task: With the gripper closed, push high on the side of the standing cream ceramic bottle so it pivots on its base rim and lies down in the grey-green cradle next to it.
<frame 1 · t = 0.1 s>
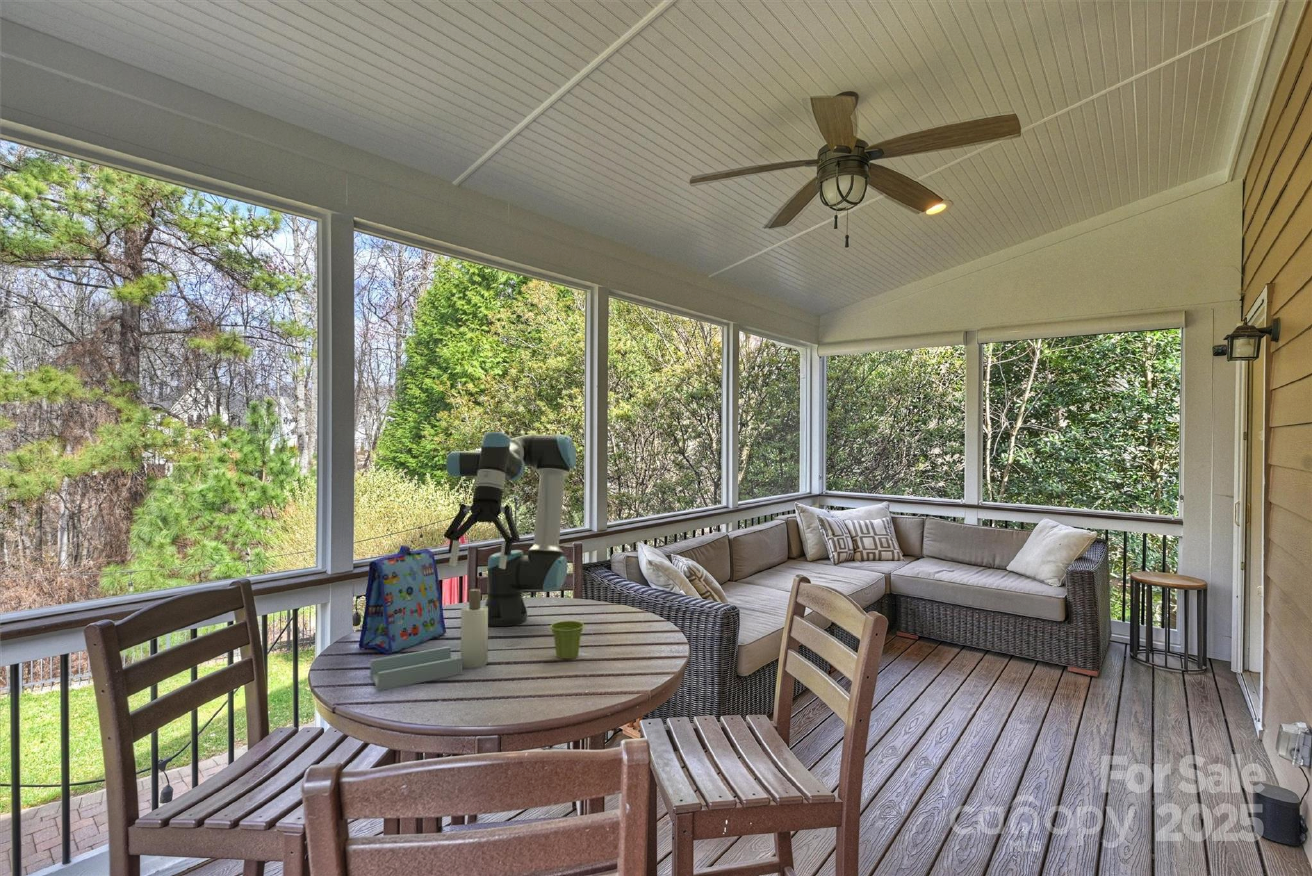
hand: (477, 567, 158), 28 cm above the table, tool tilted 20°, fingers open, 13 cm apart
lunch bag: (403, 642, 184), on the table
grey-green cradle: (416, 675, 157), on the table
plant pot: (567, 656, 172), on the table
cream bottle: (474, 663, 165), on the table
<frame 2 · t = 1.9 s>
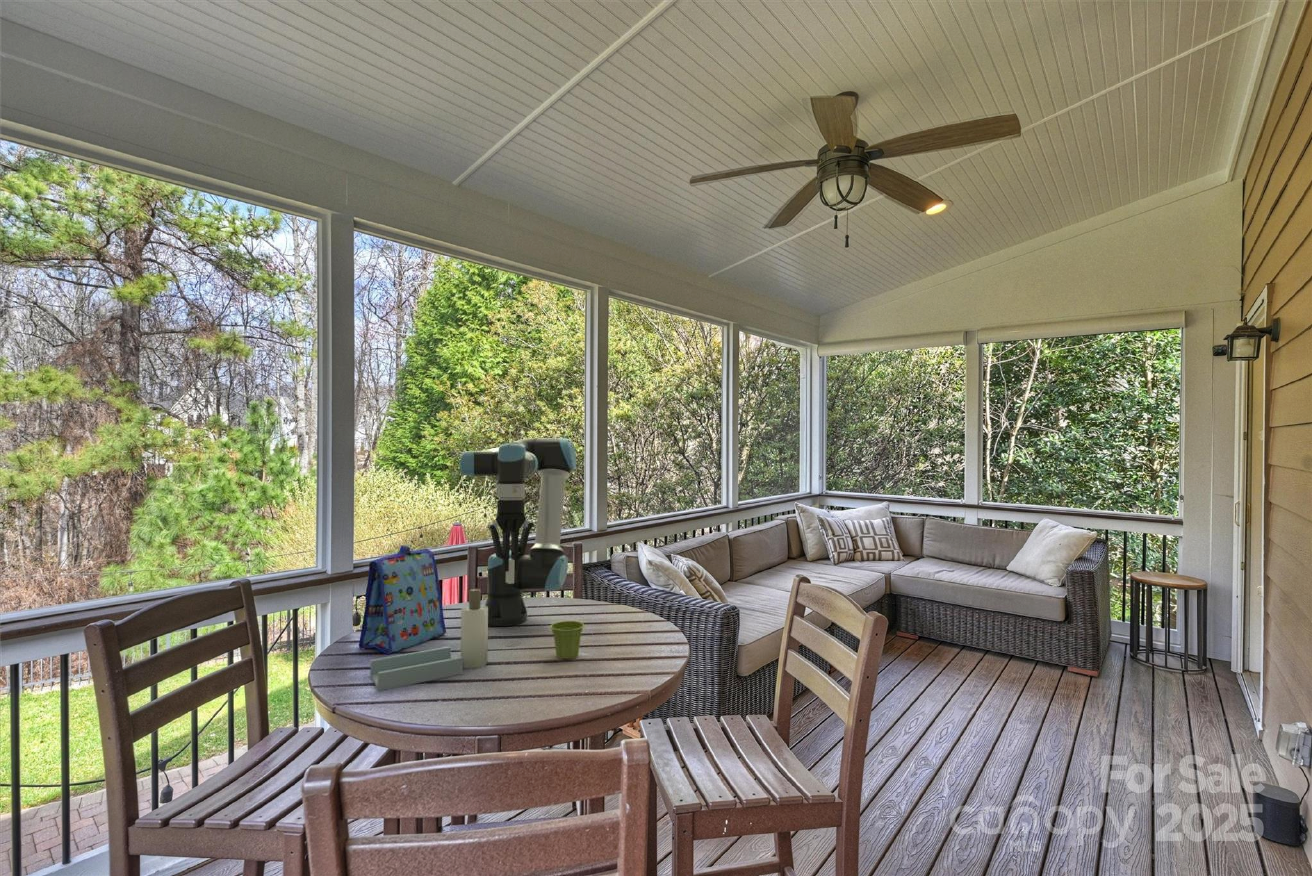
hand: (509, 582, 171), 21 cm above the table, tool pointing down, fingers closed
nothing on the table moved.
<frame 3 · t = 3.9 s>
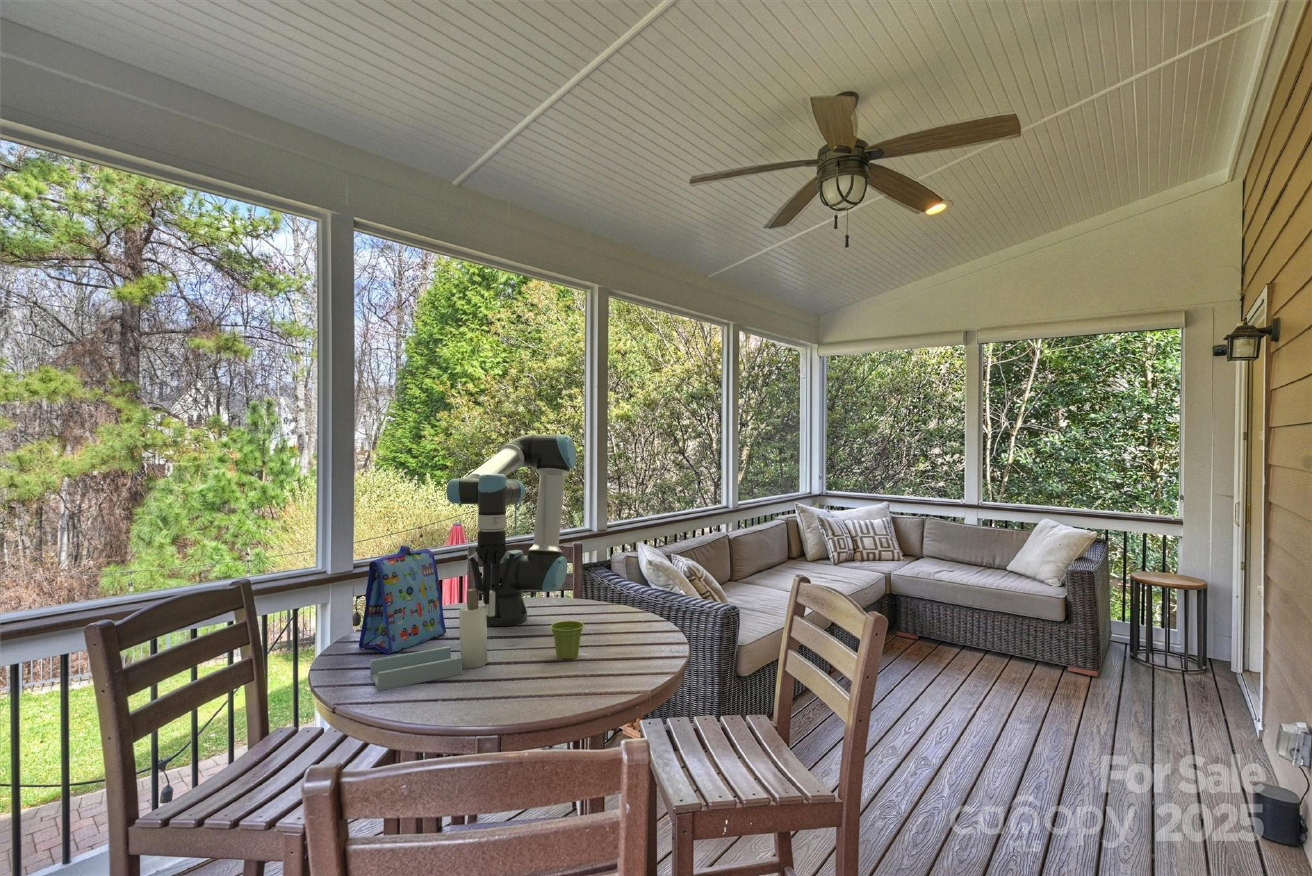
hand: (490, 615, 168), 13 cm above the table, tool pointing down, fingers closed
cream bottle: (474, 663, 165), on the table, touching gripper
everything else where it was.
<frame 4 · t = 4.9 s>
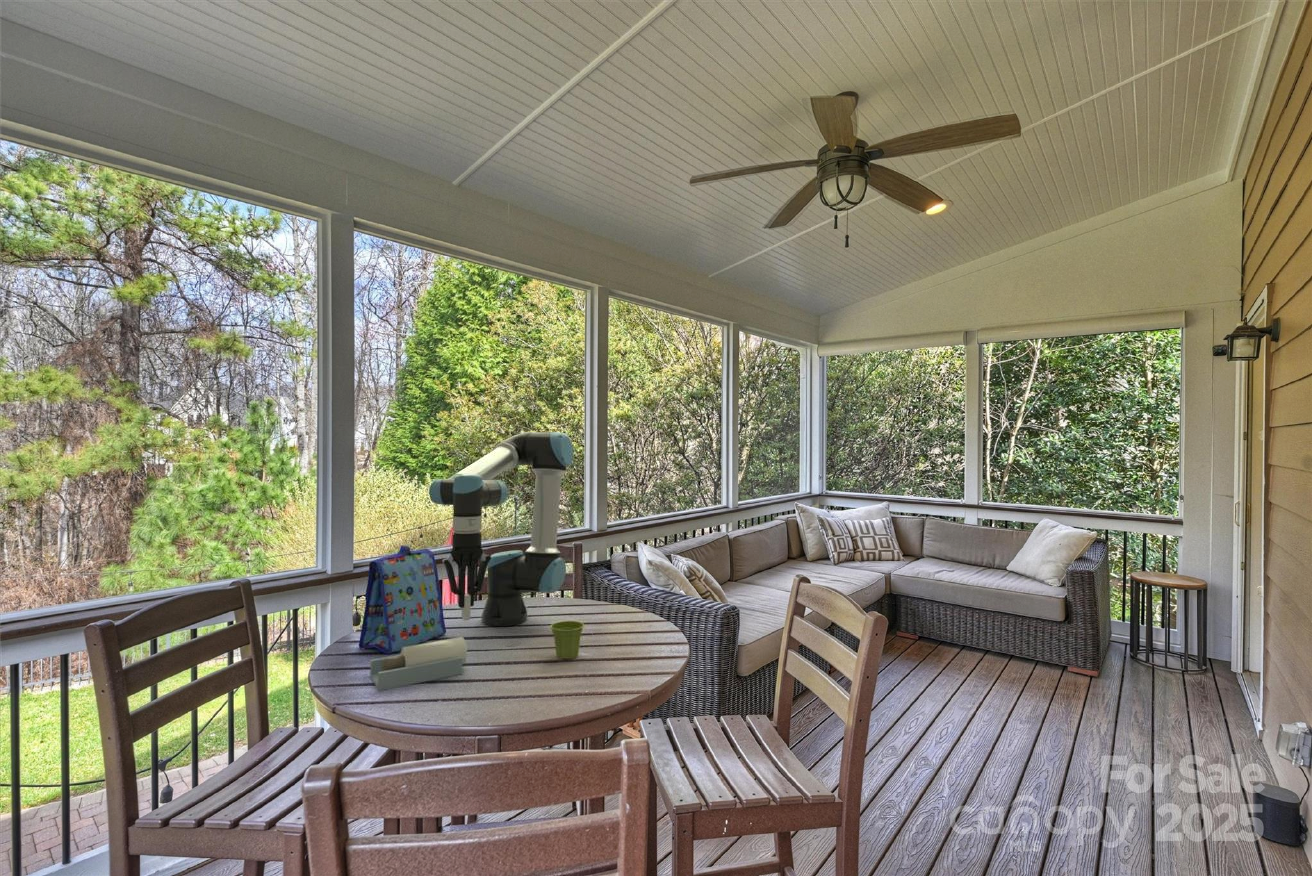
hand: (465, 618, 164), 13 cm above the table, tool pointing down, fingers closed
cream bottle: (462, 650, 164), point 4 cm above the table, tilted 90°, touching grey-green cradle
everything else where it was.
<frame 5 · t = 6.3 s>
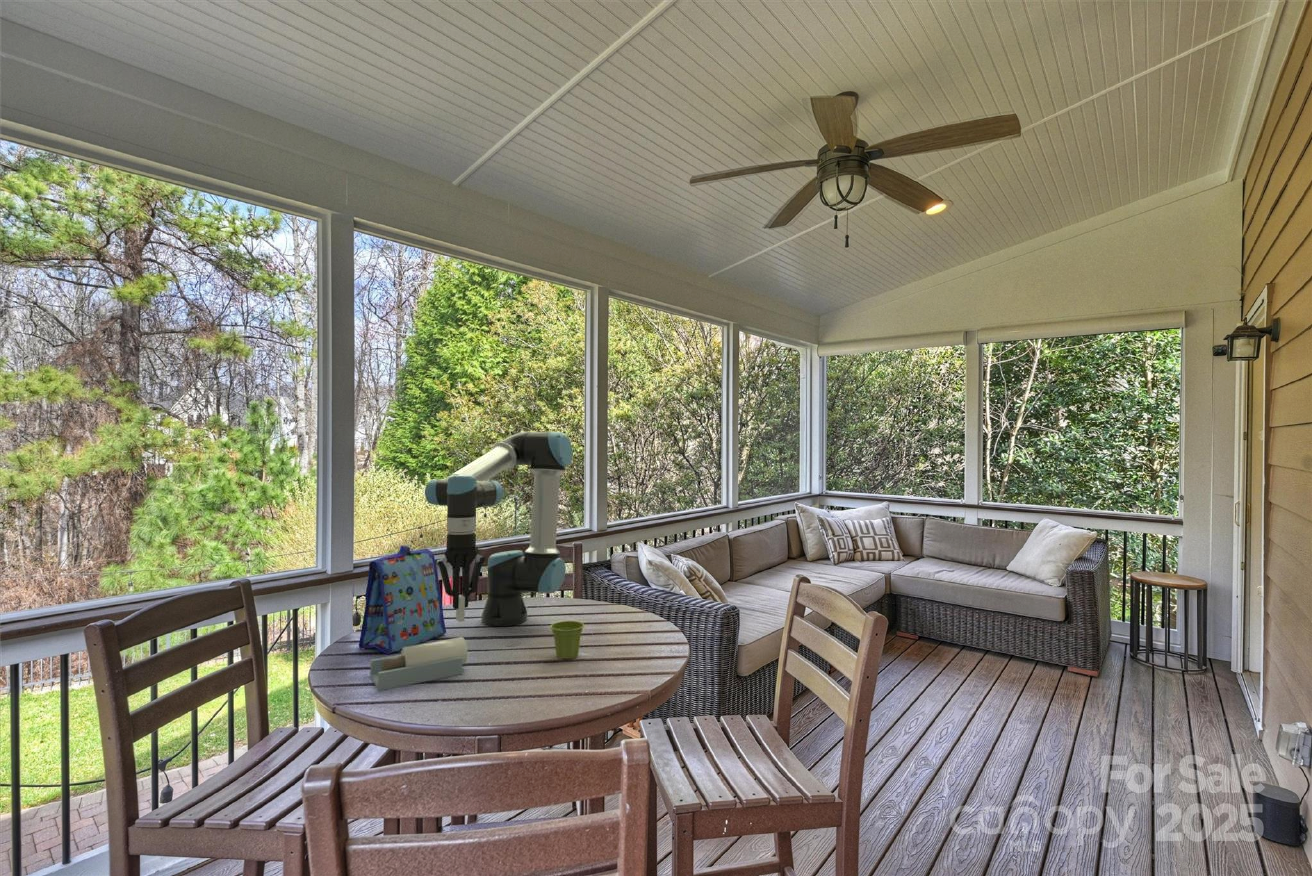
hand: (460, 620, 164), 12 cm above the table, tool pointing down, fingers closed
nothing on the table moved.
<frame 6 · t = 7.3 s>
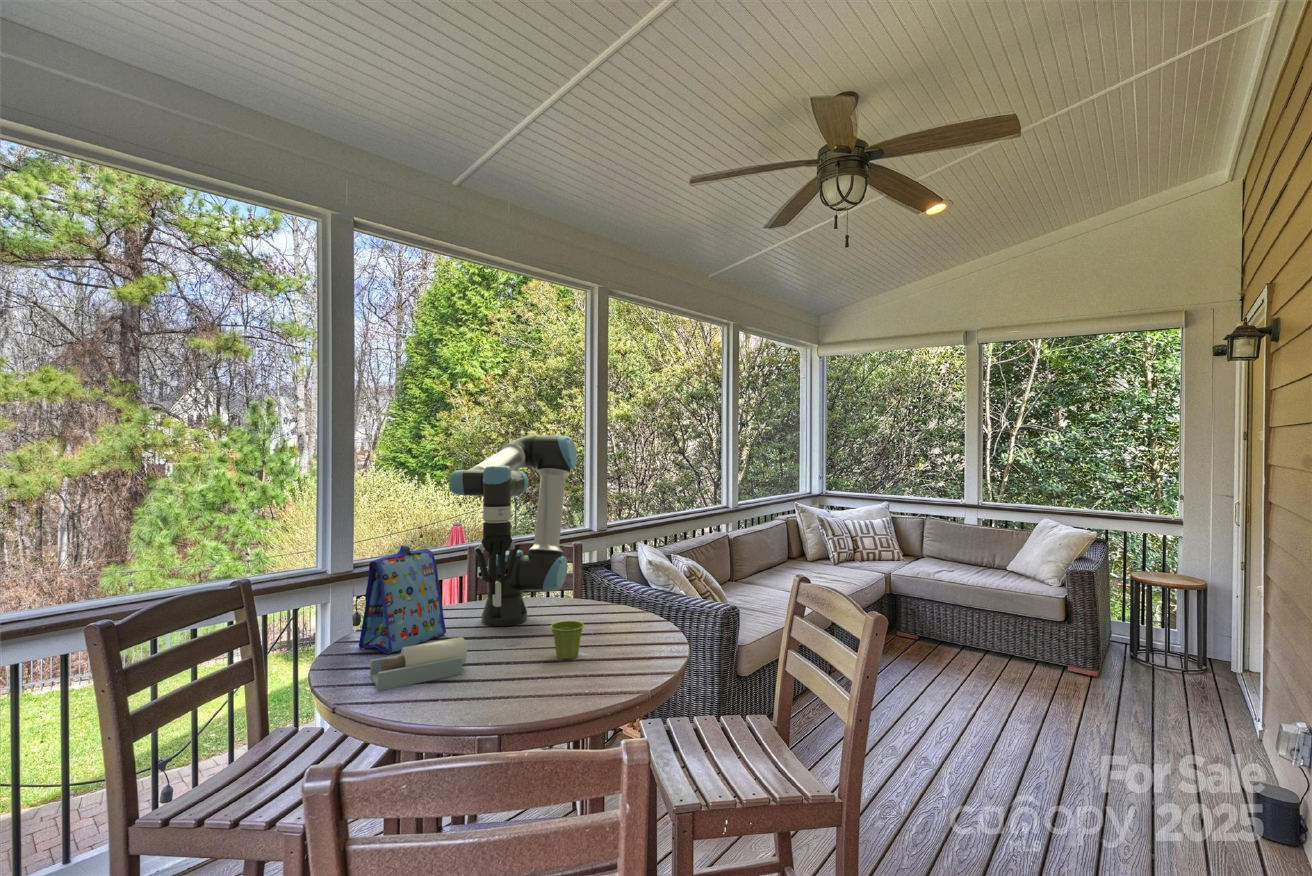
hand: (496, 605, 170), 15 cm above the table, tool pointing down, fingers closed
nothing on the table moved.
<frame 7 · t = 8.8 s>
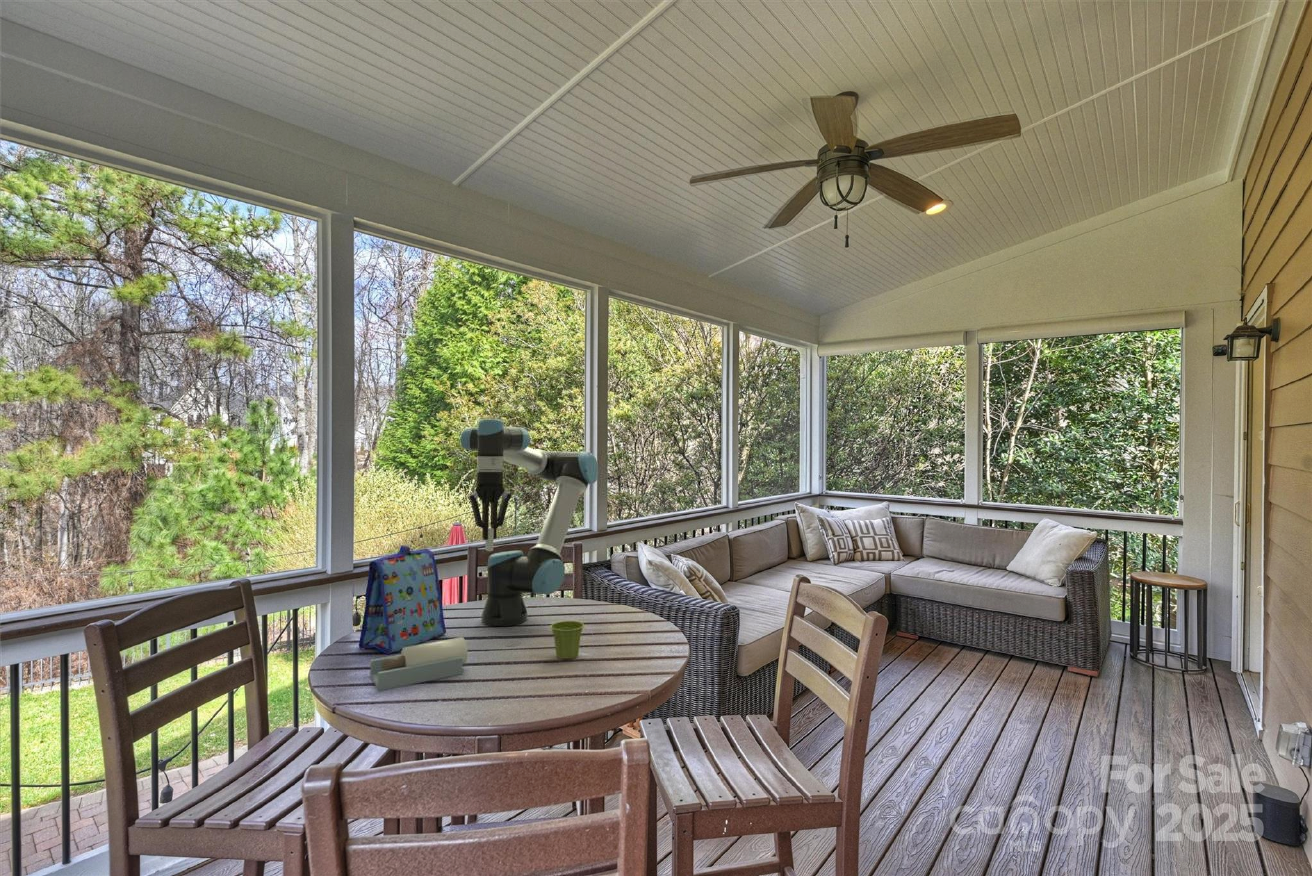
hand: (489, 550, 180), 28 cm above the table, tool pointing down, fingers closed
nothing on the table moved.
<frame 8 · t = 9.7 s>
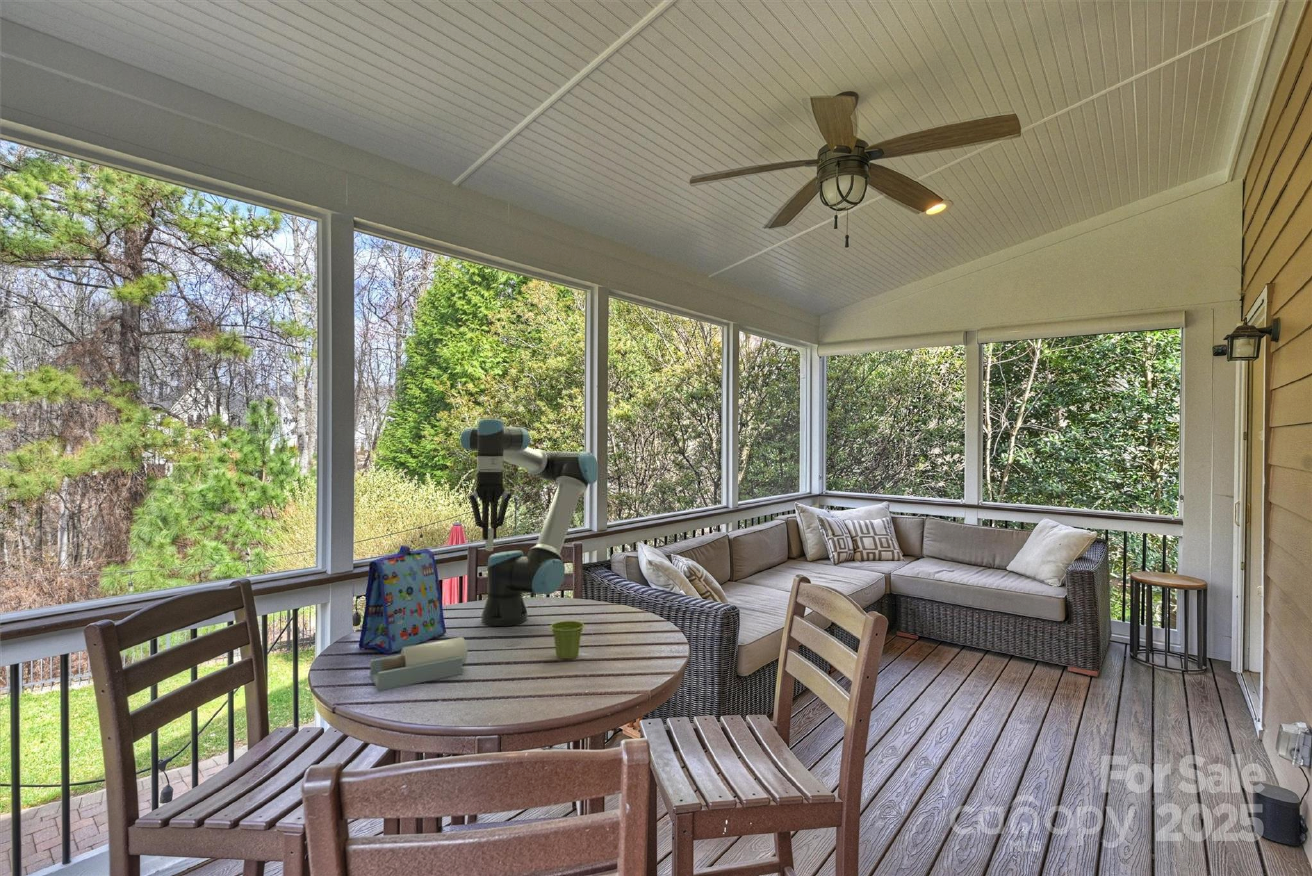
hand: (489, 550, 180), 28 cm above the table, tool pointing down, fingers closed
nothing on the table moved.
at the end: cream bottle tilted 90°; cream bottle inside the target area on the grey-green cradle (3.2 cm from its centre), point 4.3 cm above the grey-green cradle's base; cream bottle touching grey-green cradle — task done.
